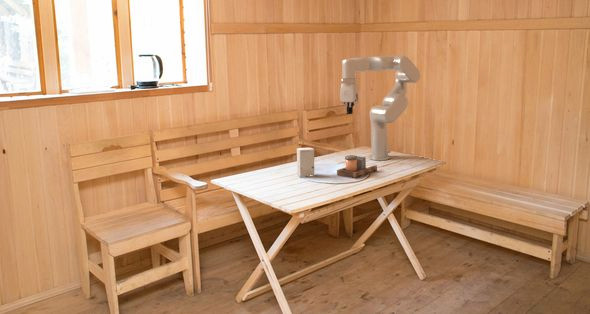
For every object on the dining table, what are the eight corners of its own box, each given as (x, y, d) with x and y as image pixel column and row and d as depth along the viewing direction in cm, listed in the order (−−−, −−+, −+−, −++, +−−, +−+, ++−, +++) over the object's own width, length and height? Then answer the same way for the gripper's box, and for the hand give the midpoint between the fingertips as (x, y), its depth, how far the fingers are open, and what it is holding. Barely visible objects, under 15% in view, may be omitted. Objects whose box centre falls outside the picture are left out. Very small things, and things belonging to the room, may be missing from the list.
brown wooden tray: (358, 168, 313) (358, 162, 313) (376, 170, 305) (376, 165, 305) (337, 175, 299) (336, 170, 298) (355, 178, 291) (355, 173, 290)
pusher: (355, 168, 308) (355, 155, 306) (368, 170, 302) (368, 157, 301) (349, 170, 303) (348, 157, 302) (361, 172, 298) (361, 159, 296)
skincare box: (300, 177, 297) (299, 150, 294) (296, 175, 303) (295, 148, 300) (315, 176, 300) (314, 148, 296) (311, 173, 305) (310, 146, 302)
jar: (348, 171, 302) (347, 154, 300) (359, 171, 299) (358, 155, 297) (343, 174, 297) (342, 157, 295) (354, 175, 294) (354, 158, 292)
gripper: (334, 81, 316) (335, 113, 320) (356, 82, 306) (356, 115, 310) (342, 80, 322) (343, 112, 326) (364, 81, 312) (364, 113, 316)
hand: (349, 113), depth 318 cm, fingers closed
